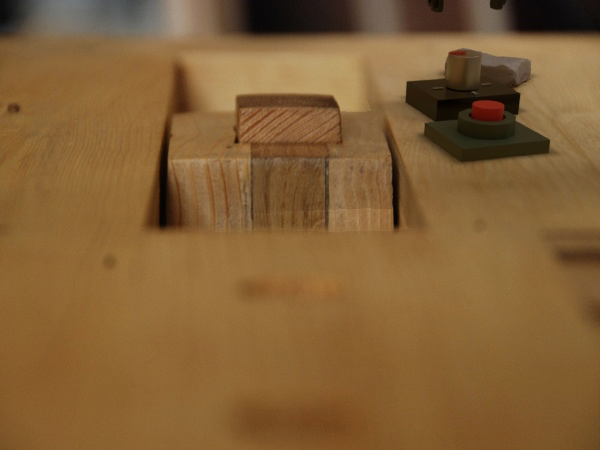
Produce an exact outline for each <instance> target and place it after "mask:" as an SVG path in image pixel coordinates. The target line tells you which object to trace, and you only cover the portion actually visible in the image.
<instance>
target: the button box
mask: <svg viewBox="0 0 600 450" xmlns="http://www.w3.org/2000/svg"><path fill="white" fill-rule="evenodd" d="M471 113H472V109H467V110H464V111H461V112H459V115H458V120H449V121H438V122H435V121H427V122H424V127H423V136H424V137H426V139H428V140H430V141H431V142H433V143H434V144H435V145H436V146H438V147H439V148H441V149H442V150H444V151H445V152H447V153H448V154H449V155H450V156H451V157H454V158H455V159H456V160H458V161H459V162H461V163H466V162H477V161H485V160H494V159H503V158H513V157H522V156H523V157H524V156H532V155H542V154H549V153H550V146H551V139H550V138H548V137H546V136H544V135H543V134H541V133H539V132H538V131H535V130H533V129H532V128H530V127H528V126H526V125H525V124H523V123H521V122H519V121H517V115H513V114H511V113H509V112H507V111H504V113H503V120H501V121H492V122H491V121H480V120H476V119H472V118H471Z"/></svg>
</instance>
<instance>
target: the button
mask: <svg viewBox="0 0 600 450" xmlns="http://www.w3.org/2000/svg"><path fill="white" fill-rule="evenodd" d="M503 113H504V104H502V103H500V102H496V101H489V100H481V101H476V102H473V104H472V113H471V118H472V119H476V120H480V121H491V122H492V121H501V120H503Z"/></svg>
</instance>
